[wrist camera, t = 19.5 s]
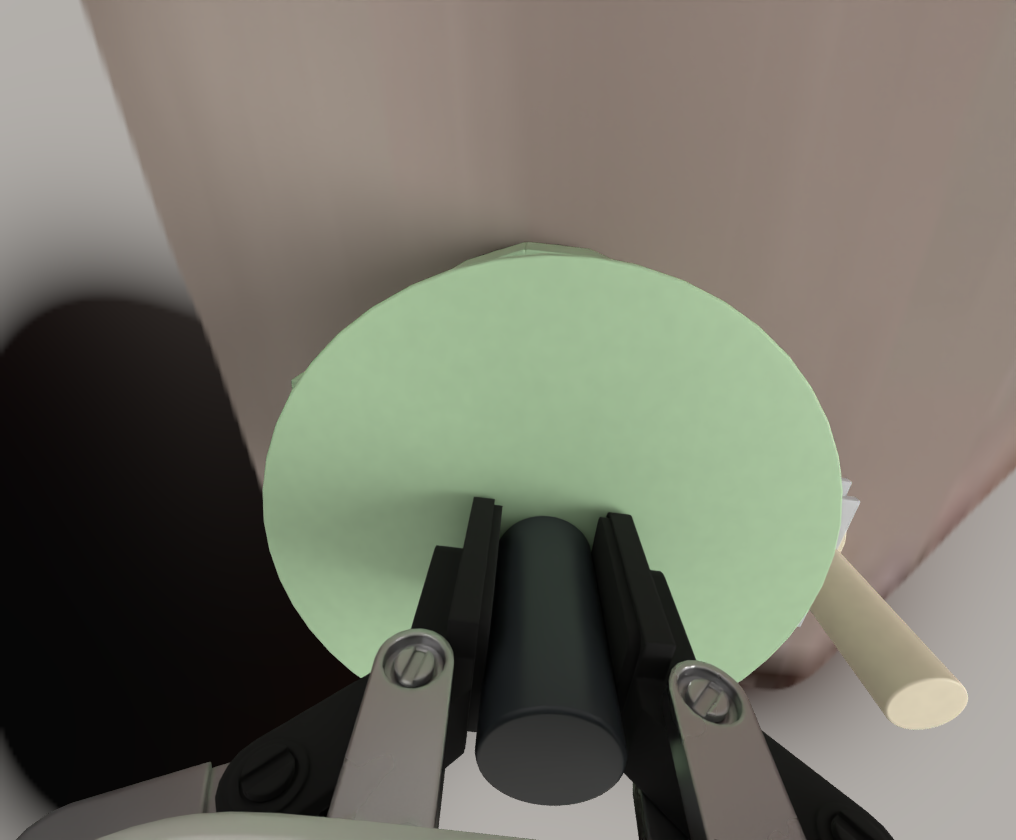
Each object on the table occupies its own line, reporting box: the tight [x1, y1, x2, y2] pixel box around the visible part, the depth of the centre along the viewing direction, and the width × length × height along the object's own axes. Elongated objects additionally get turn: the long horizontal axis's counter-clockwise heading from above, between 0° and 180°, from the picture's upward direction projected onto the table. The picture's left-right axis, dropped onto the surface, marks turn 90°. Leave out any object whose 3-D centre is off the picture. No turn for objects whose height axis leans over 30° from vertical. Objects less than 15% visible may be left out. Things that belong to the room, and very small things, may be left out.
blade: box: [797, 478, 968, 730], centre depth 20 cm, size 8×5×10 cm, turn 173°
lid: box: [263, 253, 843, 806], centre depth 10 cm, size 14×14×6 cm
